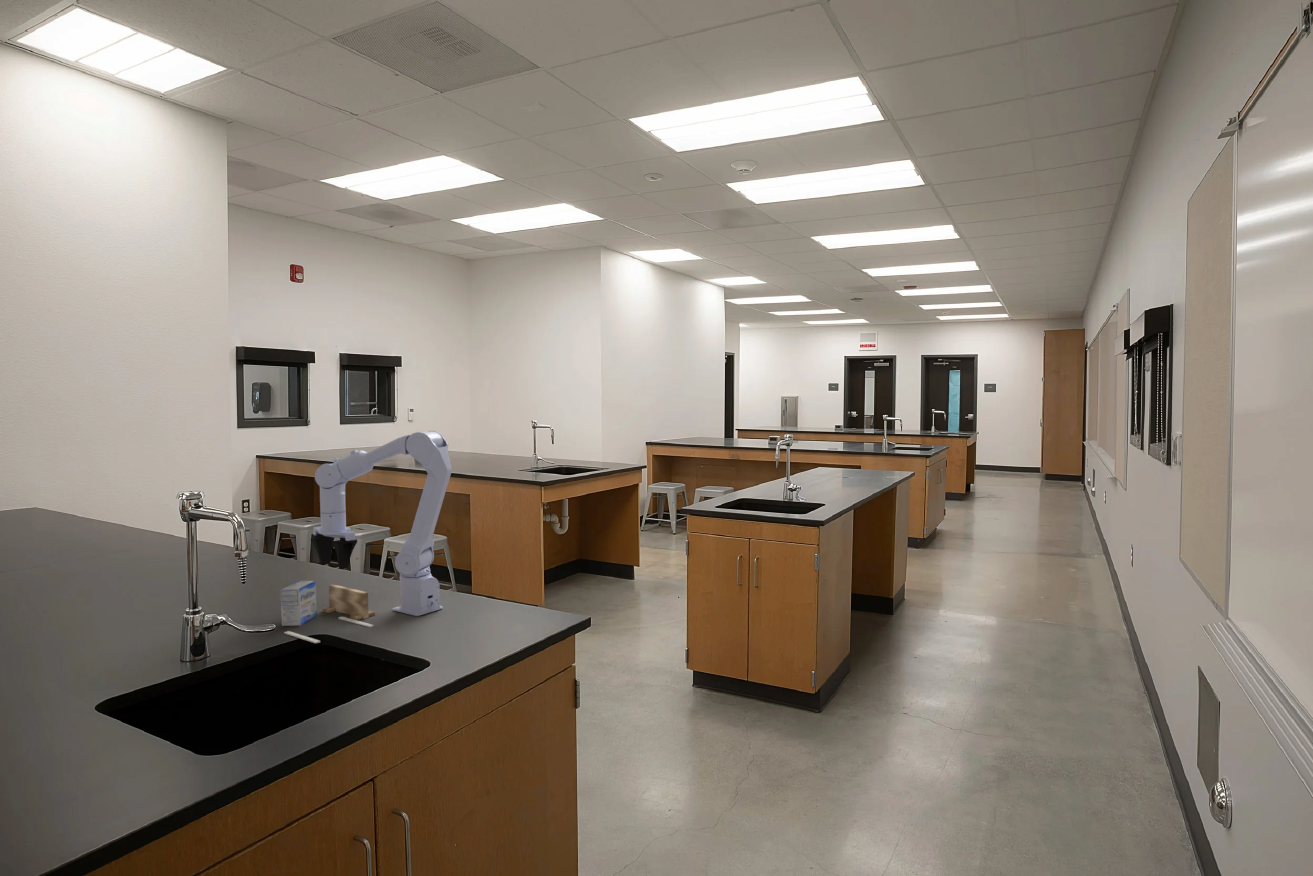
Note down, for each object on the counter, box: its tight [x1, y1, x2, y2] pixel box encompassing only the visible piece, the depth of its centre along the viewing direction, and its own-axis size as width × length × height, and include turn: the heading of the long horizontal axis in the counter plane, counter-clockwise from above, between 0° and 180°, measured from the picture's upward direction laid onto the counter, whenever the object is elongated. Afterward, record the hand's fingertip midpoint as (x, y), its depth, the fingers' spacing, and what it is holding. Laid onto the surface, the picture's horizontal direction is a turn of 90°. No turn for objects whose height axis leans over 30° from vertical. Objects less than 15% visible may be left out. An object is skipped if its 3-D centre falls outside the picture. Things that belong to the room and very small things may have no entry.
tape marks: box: [283, 616, 374, 644], centre depth 162 cm, size 12×14×1 cm
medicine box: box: [280, 580, 318, 627], centre depth 169 cm, size 8×4×9 cm, turn 179°
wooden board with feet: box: [322, 584, 376, 621], centre depth 175 cm, size 14×5×6 cm, turn 57°
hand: (334, 566), depth 179 cm, fingers open, 7 cm apart
